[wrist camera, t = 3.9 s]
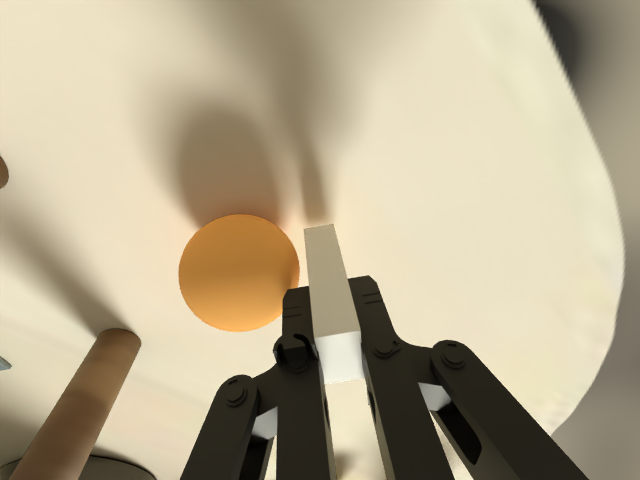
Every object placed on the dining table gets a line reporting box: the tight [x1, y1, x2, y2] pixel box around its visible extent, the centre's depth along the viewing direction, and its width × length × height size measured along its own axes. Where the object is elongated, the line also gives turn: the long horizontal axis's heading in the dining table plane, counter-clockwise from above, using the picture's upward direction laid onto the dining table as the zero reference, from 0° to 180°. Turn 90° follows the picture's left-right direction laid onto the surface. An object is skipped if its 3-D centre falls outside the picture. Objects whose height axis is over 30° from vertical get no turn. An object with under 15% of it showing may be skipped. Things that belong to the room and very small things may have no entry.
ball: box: [179, 214, 299, 332], centre depth 14 cm, size 6×6×6 cm
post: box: [9, 329, 141, 480], centre depth 17 cm, size 3×3×9 cm
